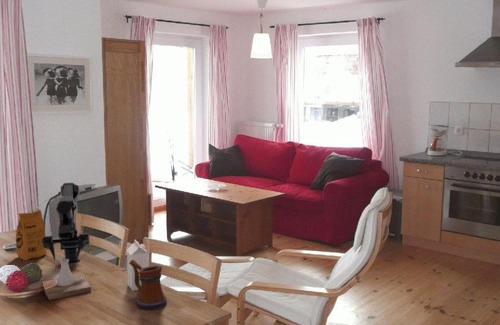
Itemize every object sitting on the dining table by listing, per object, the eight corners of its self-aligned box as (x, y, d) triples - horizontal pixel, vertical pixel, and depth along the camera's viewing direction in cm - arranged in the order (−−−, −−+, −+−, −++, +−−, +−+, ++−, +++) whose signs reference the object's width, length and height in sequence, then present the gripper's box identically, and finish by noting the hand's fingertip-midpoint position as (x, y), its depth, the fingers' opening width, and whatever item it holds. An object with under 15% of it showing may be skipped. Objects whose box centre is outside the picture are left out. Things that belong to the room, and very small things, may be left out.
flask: (79, 282, 214) (77, 259, 212) (64, 288, 208) (63, 264, 206) (67, 279, 218) (65, 256, 216) (52, 285, 212) (50, 261, 210)
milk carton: (132, 291, 210) (130, 245, 207) (127, 285, 216) (126, 240, 213) (149, 288, 213) (148, 243, 210) (144, 282, 220) (143, 238, 216)
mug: (120, 299, 203) (118, 262, 201) (144, 290, 211) (143, 254, 209) (148, 313, 191) (146, 274, 188) (173, 303, 199) (172, 265, 197)
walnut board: (42, 285, 216) (41, 281, 215) (81, 278, 224) (81, 273, 223) (49, 300, 202) (48, 295, 202) (91, 291, 210) (90, 286, 210)
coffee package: (14, 256, 251) (11, 212, 247) (40, 250, 259) (37, 207, 256) (23, 261, 244) (19, 215, 240) (49, 255, 252) (46, 211, 249)
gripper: (41, 218, 219) (39, 252, 210) (87, 214, 224) (88, 248, 215) (44, 230, 228) (43, 263, 219) (89, 227, 232) (89, 259, 224)
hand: (66, 258), depth 219 cm, fingers open, 9 cm apart
